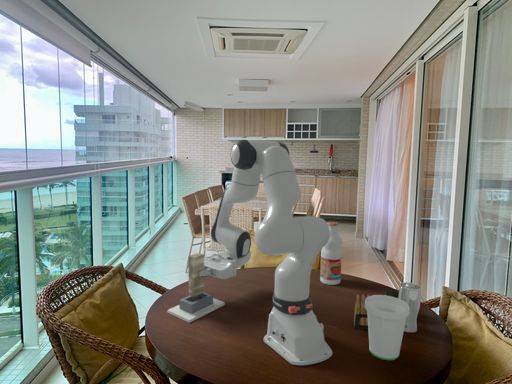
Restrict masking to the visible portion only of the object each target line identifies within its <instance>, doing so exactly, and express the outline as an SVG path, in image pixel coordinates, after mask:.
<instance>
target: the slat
mask: <svg viewBox="0 0 512 384" xmlns="http://www.w3.org/2000/svg"><path fill="white" fill-rule="evenodd" d="M204 257H205V254H204V253H200V252H197V253H194V254H190V255H188V257H187V258H188V259H187V261H188V266H189V268H188V296H190V295H191V296H193V297H195V296H197V295H200V294H202V293H204V292H205V275H203V276H198V275H197V274H198V273H197V272H198V271H200V270H204Z"/></svg>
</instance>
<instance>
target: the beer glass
mask: <svg viewBox="0 0 512 384" xmlns="http://www.w3.org/2000/svg"><path fill="white" fill-rule="evenodd" d="M398 291H399V294H398V299H400V300H402V301H404V302H406V303H407V304H408V305H409V309H410V311H409V315H408V316H407V317H406V322H405V327H404V332H406V333H412V334H414V333H416V332H417V331H418V326H417V320H418V319H417V318H418V314H419V311H420V307H421V301H422V287H421V286H420V285H418V284H416V283H413V282H407V281H406V282H401V283H399V288H398Z"/></svg>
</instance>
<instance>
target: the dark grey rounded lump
mask: <svg viewBox="0 0 512 384" xmlns="http://www.w3.org/2000/svg"><path fill="white" fill-rule="evenodd" d="M398 294H399V289H395V290H394V289H392V288H391V289H386V290H384V295H386V296H391V297H395V298H398Z"/></svg>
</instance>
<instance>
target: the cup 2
mask: <svg viewBox="0 0 512 384" xmlns="http://www.w3.org/2000/svg"><path fill="white" fill-rule="evenodd" d="M365 308H366V310H367V316H368V329H367V330H368V331H367V332H368V344H369V346H368V347H369V348H368V350H369V352H370V353H371V355H372V356H373V357H376V358H378V359H380V360H385V361H394V360H396V359H398V358H399V357H400V351H401V347H402V341H403V336H404V332H405V331H404V327H405V322H406V317H407V316H408V315H409V311H410V309H409V305H408V304H407V303H406V302H404V301H402V300H400V299H398V298H395V297H391V296H386V295H385V294H374V295H369V297H367V296H366V297H365Z"/></svg>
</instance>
